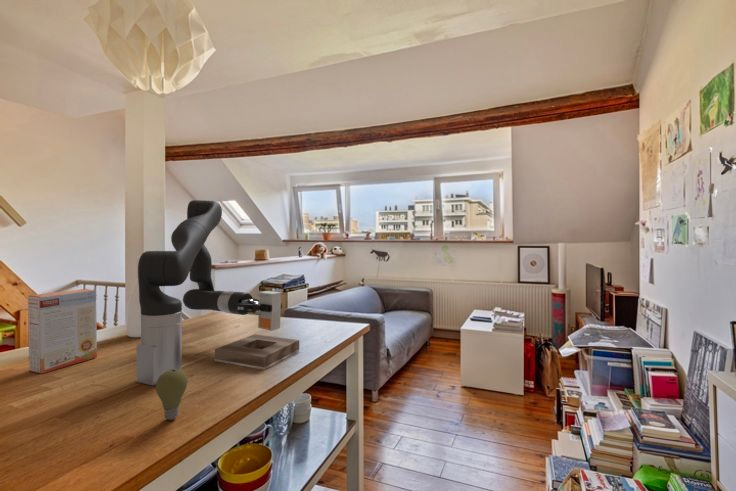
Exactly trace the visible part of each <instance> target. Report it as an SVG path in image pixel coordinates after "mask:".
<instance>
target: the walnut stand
mask: <svg viewBox="0 0 736 491" xmlns="http://www.w3.org/2000/svg"><path fill="white" fill-rule="evenodd" d="M298 352H300V339H293V338H288V337H279V336H271V335H264V334H256V333H254V334H251V335H249V336H246V337H244V338H240V339H238V340H235V341H233V342H230V343H228V344H225V345H222V346H219V347H216V348H215V349H214V362H217V363H218V362H220V363H224V364H225V363H226V364H229V365H230V364H231V365H236V366H241V367H247V368H252V369H257V370H263V371H264V370H266V369H268V368H270V367H273V366H274V365H276V364H278V363H279V362H281V361H283V360H286V359H287V358H289V357H290V356H293V355H294V354H296V353H298Z"/></svg>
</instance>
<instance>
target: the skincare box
mask: <svg viewBox="0 0 736 491" xmlns="http://www.w3.org/2000/svg"><path fill="white" fill-rule="evenodd" d="M258 298H259V303H260V304H267V305H272V312H263V311H261V312H258V319H257V320H258V322H257V324H258V325H257V327H258V329H261V330H265V331H270V332H272V331H276V330H279V329H280V328H281V314H282V312H281V303H282V302H281V301H282V299H281V298H282V292H280V291H273V290H272V291H271V290H265V291H264V290H263V291H259V293H258Z"/></svg>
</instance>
